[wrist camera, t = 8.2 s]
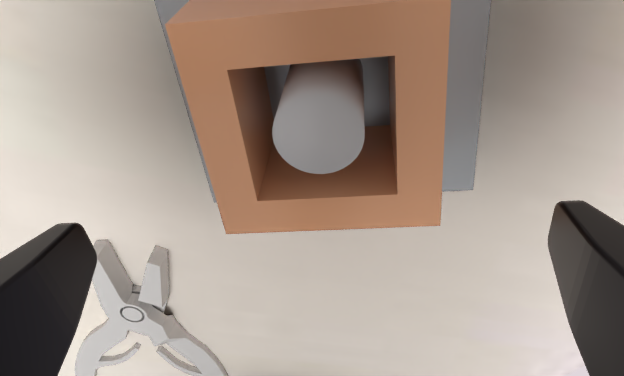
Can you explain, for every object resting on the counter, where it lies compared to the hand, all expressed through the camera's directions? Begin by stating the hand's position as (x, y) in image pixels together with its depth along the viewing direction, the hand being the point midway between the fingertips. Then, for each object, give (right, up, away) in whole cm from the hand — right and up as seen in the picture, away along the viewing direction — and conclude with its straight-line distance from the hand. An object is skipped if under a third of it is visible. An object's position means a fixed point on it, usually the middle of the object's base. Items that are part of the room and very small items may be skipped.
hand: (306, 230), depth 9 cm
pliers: (-9, -7, +19) cm, 22 cm away
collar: (+1, +5, +7) cm, 8 cm away
